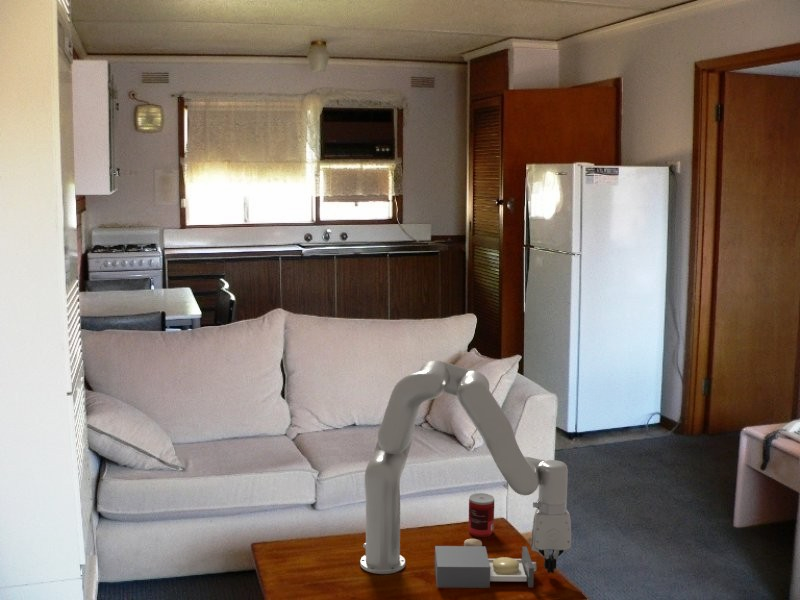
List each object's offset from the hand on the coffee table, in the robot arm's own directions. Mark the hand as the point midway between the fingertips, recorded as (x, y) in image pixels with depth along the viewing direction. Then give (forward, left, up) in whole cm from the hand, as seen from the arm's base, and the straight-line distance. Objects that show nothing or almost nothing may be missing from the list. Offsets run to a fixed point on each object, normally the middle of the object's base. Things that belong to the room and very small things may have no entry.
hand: (549, 570), depth 253 cm
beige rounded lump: (-20, -11, -2) cm, 23 cm away
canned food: (-34, +1, -2) cm, 34 cm away
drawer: (-6, -10, -1) cm, 12 cm away
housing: (-12, -21, -2) cm, 24 cm away
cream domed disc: (-6, -10, 0) cm, 12 cm away
